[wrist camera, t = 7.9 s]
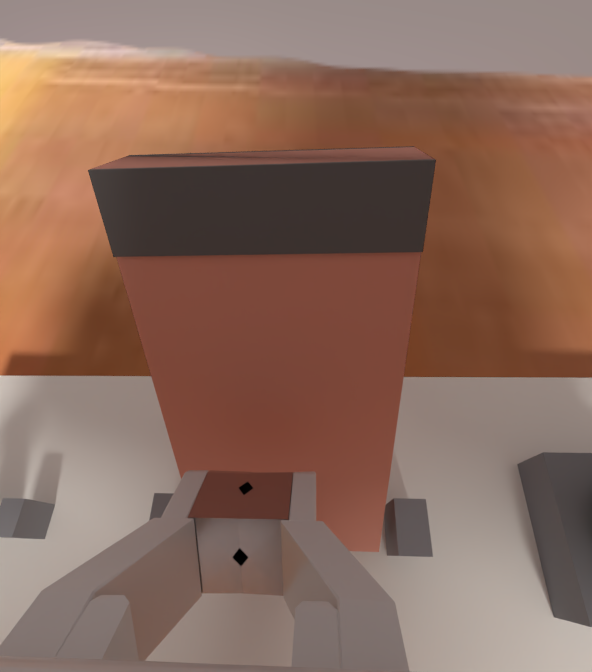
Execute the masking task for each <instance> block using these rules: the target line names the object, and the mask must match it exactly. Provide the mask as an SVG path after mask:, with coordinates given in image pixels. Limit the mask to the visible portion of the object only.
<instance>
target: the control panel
mask: <svg viewBox="0 0 592 672" xmlns="http://www.w3.org/2000/svg"><path fill="white" fill-rule="evenodd" d="M180 481H181V477H180V473H179V470H178V467H177V463H176V460H175V456H174V453H173V449H172V446H171V443H170V439H169V436H168V432H167V429H166V425H165V422H164V419H163V415H162V412H161V408H160V405H159V401H158V398H157V395H156V391H155V388H154V384H153V381H152V377H151V376H0V645H1V644H2V642H3V641H4V640H5V638H6V637H7V636H8V634H9V633H10V632H11V630H12V629H13V628H14V626H15V625H16V624H17V622H18V621H19V620H20V619H21V617H22V616H23V615H24V613H25V612H26V611H27V609H28V608H29V607H30V605H31V604H32V603H33V601H34V600H35V599H36V597H37V596H38V595H39V593H40V592H41V591H42V590H43V589H45V588H46V587H48V586H49V585H51V584H52V583H54V582H56V581H57V580H59V579H60V578H62V577H63V576H65V575H66V574H68V573H69V572H71V571H73V570H74V569H76V568H77V567H79V566H80V565H82V564H83V563H85V562H86V561H88V560H90V559H91V558H93V557H94V556H96V555H97V554H99V553H100V552H102V551H103V550H105V549H107V548H108V547H110V546H111V545H113V544H114V543H116V542H117V541H119V540H120V539H122V538H124V537H125V536H127V535H128V534H130V533H131V532H133V531H134V530H136V529H137V528H139V527H141V526H142V525H144V524H145V523H147V522H148V521H150V520H151V519H153V518H161V516H162V514H163V513H164V511H165V509H166V507H167V505H168V503H169V501H170V499H171V498H172V496H173V494H174V492H175V490H176V488H177V486H178V485H179V483H180ZM350 552H351V553H352V555H353V556H354V557H355V558H356V559H357V560H358V561H359V562H360V563H361V565H362V566H363V567H364V568H365V569H366V570H367V571H368V572H369V574H370V575H371V576H372V577H373V578H374V579H375V580H376V581H377V583H378V584H379V585H380V586H381V587H382V588H383V589H384V590H385V591H386V593H387V594H388V595H389V596H390V597H391V598H392V599H393V600H394V602H395V605H396V609H397V614H398V619H399V624H400V628H401V633H402V638H403V643H404V647H405V652H406V657H407V662H408V666H409V671H410V672H592V378H559V377H404V378H403V385H402V392H401V399H400V406H399V413H398V420H397V427H396V435H395V442H394V449H393V456H392V463H391V470H390V477H389V484H388V491H387V498H386V505H385V512H384V520H383V527H382V534H381V541H380V548H379V552H362V551H350ZM201 594H202V596H201V597H200V599H199V600H198V601H197V602H196V603H195V604H194V605H193V607H192V608H191V609H190V610H189V611H188V612H187V613H186V614H185V616H184V617H183V618H182V619H181V620H180V621H179V622H178V623H177V625H176V626H175V627H174V628H173V629H172V630H171V631H170V633H169V634H168V635H167V636H166V637H165V638H164V639H163V640H162V642H161V643H160V644H159V645H158V646H157V647H156V648H155V649H154V651H153V652H152V653H151V654H150V655H149V656H148V657H147V659H146V660H145V661H157V662H183V663H209V664H234V665H260V666H284V667H291V665H292V651H293V637H294V623H295V620H294V618H293V616H292V614H291V612H290V610H289V608H288V606H287V604H286V602H285V600H284V596H278V595H261V594H245V593H201Z"/></svg>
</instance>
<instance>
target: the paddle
mask: <svg viewBox="0 0 592 672" xmlns="http://www.w3.org/2000/svg"><path fill="white" fill-rule="evenodd" d="M435 163H436V160H435V159H433V158H432V157H430V156H429V155H427V154H425V153H424V152H422V151H420V150H419V149H417V148H416V147H414V146H410V147H379V148H347V149H315V150H283V151H251V152H219V153H187V154H155V155H129V156H126V157H123V158H121V159H118V160H115V161H112V162H109V163H107V164H104V165H101V166H98V167H95V168H93V169H90V170H88V172H89V175H90V179H91V182H92V185H93V189H94V192H95V196H96V199H97V202H98V206H99V209H100V213H101V216H102V219H103V223H104V226H105V229H106V233H107V236H108V240H109V243H110V246H111V250H112V253H113V257H117V261H118V264H119V268H120V271H121V275H122V278H123V281H124V285H125V288H126V292H127V295H128V299H129V302H130V305H131V309H132V312H133V316H134V319H135V323H136V326H137V329H138V333H139V336H140V340H141V343H142V347H143V350H144V353H145V357H146V360H147V364H148V367H149V371H150V374H151V377H152V381H153V384H154V388H155V391H156V395H157V398H158V401H159V405H160V408H161V412H162V415H163V419H164V422H165V425H166V429H167V432H168V436H169V439H170V443H171V446H172V449H173V453H174V456H175V460H176V463H177V467H178V470H179V473H180V477H181V479H182V477H183V475H184V473H185V472H187V471H188V470H208V471H210V470H215V471H243V472H293V473H294V472H309V471H315V473H316V521H323V522H324V523H325V524H326V525H327V527H328V528H329V529H330V530H331V531H332V532H333V533H334V534H335V535H336V537H337V538H338V539H339V540H340V541H341V542H342V543H343V544H344V546H345V547H346V548H347V549H348V550H349V551H362V552H379V548H380V541H381V534H382V527H383V520H384V512H385V505H386V498H387V491H388V484H389V477H390V470H391V463H392V456H393V449H394V442H395V435H396V427H397V420H398V413H399V406H400V399H401V392H402V385H403V378H404V371H405V364H406V357H407V350H408V342H409V335H410V328H411V321H412V314H413V307H414V300H415V293H416V286H417V279H418V272H419V265H420V257H421V252H423V246H424V239H425V232H426V225H427V218H428V211H429V204H430V197H431V191H432V184H433V177H434V170H435Z"/></svg>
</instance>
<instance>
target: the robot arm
mask: <svg viewBox="0 0 592 672" xmlns="http://www.w3.org/2000/svg"><path fill="white" fill-rule="evenodd" d="M201 593H245V594H261V595H278V596H284V600H285V602H286V604H287V606H288V608H289V610H290V612H291V614H292V616H293V618H294V620H295V623H294V637H293V651H292V665H291V667H284V666H260V665H234V664H209V663H183V662H157V661H145V660H146V659H147V657H148V656H149V655H150V654H151V653H152V652H153V651H154V649H155V648H156V647H157V646H158V645H159V644H160V643H161V642H162V640H163V639H164V638H165V637H166V636H167V635H168V634H169V633H170V631H171V630H172V629H173V628H174V627H175V626H176V625H177V623H178V622H179V621H180V620H181V619H182V618H183V617H184V616H185V614H186V613H187V612H188V611H189V610H190V609H191V608H192V607H193V605H194V604H195V603H196V602H197V601H198V600H199V599H200V597H201V596H202V594H201ZM0 672H410V671H409V666H408V662H407V657H406V652H405V647H404V643H403V638H402V633H401V628H400V624H399V619H398V614H397V609H396V605H395V602H394V600H393V599H392V598H391V597H390V596H389V595H388V594H387V593H386V591H385V590H384V589H383V588H382V587H381V586H380V585H379V584H378V583H377V581H376V580H375V579H374V578H373V577H372V576H371V575H370V574H369V572H368V571H367V570H366V569H365V568H364V567H363V566H362V565H361V563H360V562H359V561H358V560H357V559H356V558H355V557H354V556H353V555H352V553H351V552H350V551H349V550H348V549H347V548H346V547H345V546H344V544H343V543H342V542H341V541H340V540H339V539H338V538H337V537H336V535H335V534H334V533H333V532H332V531H331V530H330V529H329V528H328V527H327V525H326V524H325V523H324V522H323V521H316V473H315V471H309V472H294V473H293V472H243V471H215V470H210V471H208V470H188V471H187V472H185V473H184V475H183V477H182V479H181V481H180V483H179V485H178V486H177V488H176V490H175V492H174V494H173V496H172V498H171V499H170V501H169V503H168V505H167V507H166V509H165V511H164V513H163V514H162V516H161V518H153V519H151V520H150V521H148V522H147V523H145V524H144V525H142V526H141V527H139V528H137V529H136V530H134V531H133V532H131V533H130V534H128V535H127V536H125V537H124V538H122V539H120V540H119V541H117V542H116V543H114V544H113V545H111V546H110V547H108V548H107V549H105V550H103V551H102V552H100V553H99V554H97V555H96V556H94V557H93V558H91V559H90V560H88V561H86V562H85V563H83V564H82V565H80V566H79V567H77V568H76V569H74V570H73V571H71V572H69V573H68V574H66V575H65V576H63V577H62V578H60V579H59V580H57V581H56V582H54V583H52V584H51V585H49V586H48V587H46V588H45V589H43V590H42V591H41V592H40V593H39V595H38V596H37V597H36V599H35V600H34V601H33V603H32V604H31V605H30V607H29V608H28V609H27V611H26V612H25V613H24V615H23V616H22V617H21V619H20V620H19V621H18V622H17V624H16V625H15V626H14V628H13V629H12V630H11V632H10V633H9V634H8V636H7V637H6V638H5V640H4V641H3V642H2V644H1V645H0Z"/></svg>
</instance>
